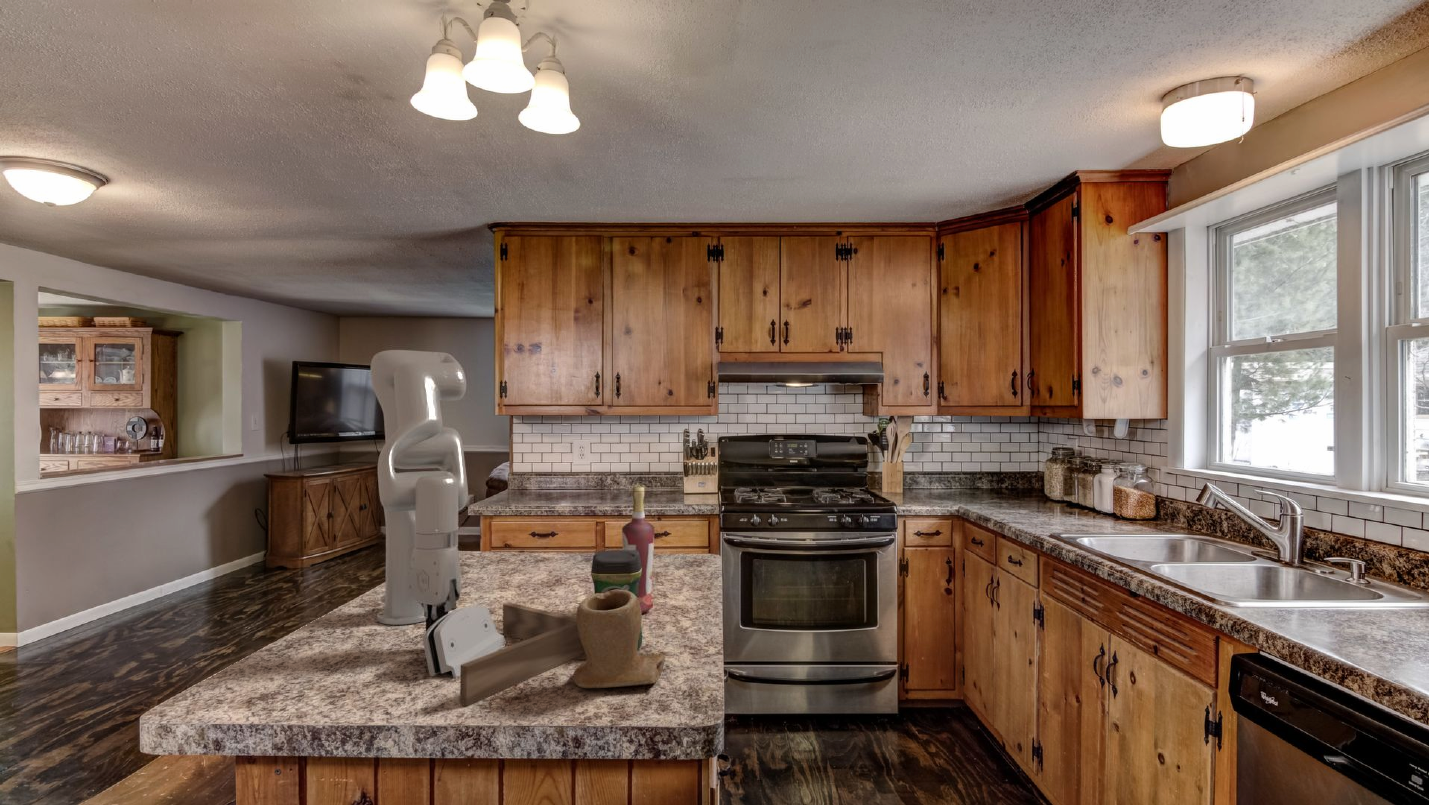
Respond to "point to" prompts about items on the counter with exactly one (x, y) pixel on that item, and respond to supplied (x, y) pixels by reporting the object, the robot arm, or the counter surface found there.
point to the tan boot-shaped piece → (613, 643)
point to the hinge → (460, 639)
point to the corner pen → (521, 652)
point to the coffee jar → (617, 573)
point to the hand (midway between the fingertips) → (435, 638)
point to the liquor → (641, 547)
